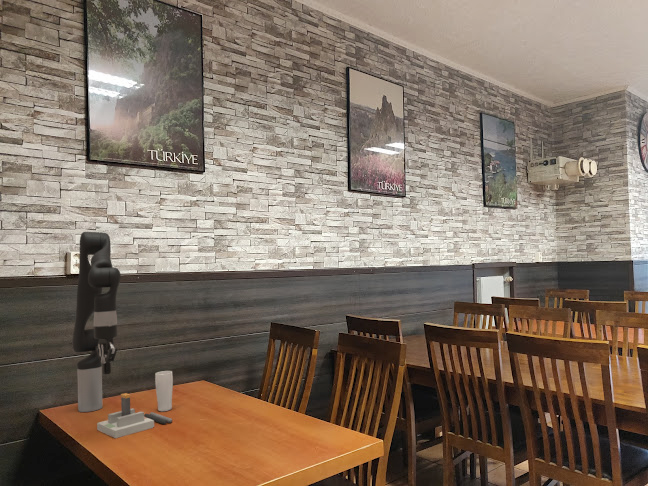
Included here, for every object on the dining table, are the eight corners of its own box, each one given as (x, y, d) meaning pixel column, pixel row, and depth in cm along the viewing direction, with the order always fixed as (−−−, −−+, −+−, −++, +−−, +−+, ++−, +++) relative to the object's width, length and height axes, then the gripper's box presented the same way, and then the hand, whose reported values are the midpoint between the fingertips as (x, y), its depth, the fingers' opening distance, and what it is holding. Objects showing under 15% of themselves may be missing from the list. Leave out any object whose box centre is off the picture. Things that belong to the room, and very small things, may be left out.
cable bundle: (143, 418, 189) (143, 413, 189) (152, 415, 191) (152, 411, 191) (163, 425, 178) (163, 420, 178) (173, 422, 181) (172, 418, 181)
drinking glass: (168, 412, 195) (167, 374, 196) (152, 412, 196) (151, 374, 197) (176, 407, 201) (175, 370, 202) (161, 407, 203) (160, 370, 204)
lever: (120, 418, 177) (119, 394, 178) (125, 417, 178) (124, 392, 179) (126, 421, 174) (126, 395, 174) (131, 419, 175) (131, 394, 176)
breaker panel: (97, 429, 176) (96, 414, 177) (134, 420, 186) (134, 405, 187) (115, 438, 166) (115, 421, 166) (154, 427, 176) (153, 411, 176)
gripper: (87, 324, 175) (88, 373, 174) (102, 326, 166) (103, 378, 165) (108, 322, 181) (109, 370, 180) (124, 323, 172) (125, 373, 171)
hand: (106, 373), depth 172 cm, fingers closed
